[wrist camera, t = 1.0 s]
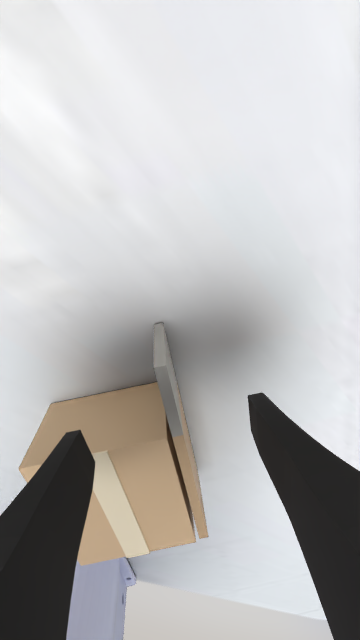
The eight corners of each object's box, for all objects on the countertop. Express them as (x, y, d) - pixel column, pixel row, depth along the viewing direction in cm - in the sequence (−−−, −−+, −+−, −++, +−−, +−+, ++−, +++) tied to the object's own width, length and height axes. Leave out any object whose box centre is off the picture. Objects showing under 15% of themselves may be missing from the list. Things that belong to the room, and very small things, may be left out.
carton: (187, 474, 23) (196, 543, 18) (95, 493, 23) (80, 567, 18) (163, 380, 19) (166, 439, 14) (50, 403, 19) (17, 470, 14)
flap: (198, 473, 23) (208, 536, 18) (190, 474, 23) (199, 538, 18) (163, 322, 17) (166, 365, 12) (153, 324, 17) (153, 367, 12)
